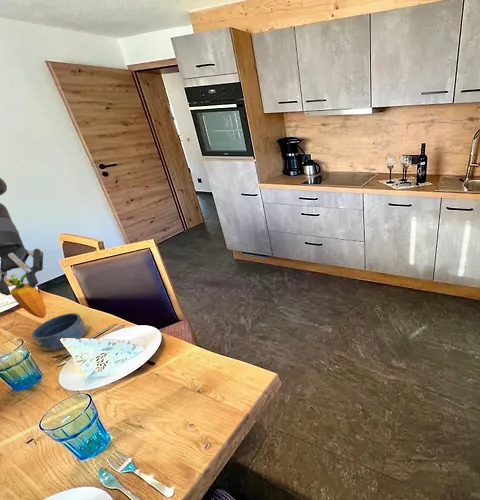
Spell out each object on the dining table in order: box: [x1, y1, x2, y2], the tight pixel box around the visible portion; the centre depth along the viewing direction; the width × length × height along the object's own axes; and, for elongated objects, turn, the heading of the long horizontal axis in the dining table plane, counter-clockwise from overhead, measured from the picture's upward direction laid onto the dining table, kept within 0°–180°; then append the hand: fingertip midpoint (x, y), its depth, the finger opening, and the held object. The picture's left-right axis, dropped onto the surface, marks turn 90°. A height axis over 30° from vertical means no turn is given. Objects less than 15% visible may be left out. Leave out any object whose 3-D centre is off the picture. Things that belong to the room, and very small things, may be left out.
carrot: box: [7, 273, 47, 319], centre depth 81 cm, size 5×5×15 cm
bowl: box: [31, 312, 88, 352], centre depth 97 cm, size 12×12×6 cm
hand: (20, 290), depth 78 cm, fingers closed on carrot, 4 cm apart
